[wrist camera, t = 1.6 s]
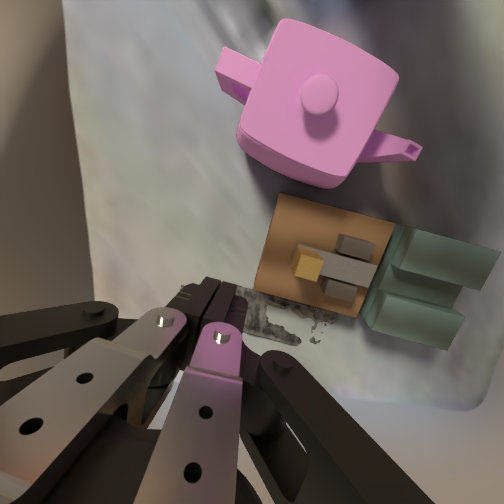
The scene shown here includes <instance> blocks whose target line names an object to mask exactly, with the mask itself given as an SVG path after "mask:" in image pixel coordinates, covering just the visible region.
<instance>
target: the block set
mask: <svg viewBox="0 0 504 504" xmlns="http://www.w3.org/2000/svg"><path fill="white" fill-rule="evenodd" d="M297 241H298V242H302V243H306V244H310V245H313V246H317V247H321V248H324V249H328V250H332V251H335V252H339V253H343V254H346V255H350V256H354V257H358V258H361V259H365V260H369V261H372V262H373V263H374V264H376V265H377V268H376V271H375V273H374V276H373V278H372V280H371V283H370V285H369V288H367V287H364V286H360V285H356V284H353V283H349V282H345V281H342V280H338V279H334V278H330V277H327V276H323V275H319V276H318V279H317V282H316V281H312V280H308V279H305V278H301V277H297V276H294V272H293V268H292V267H291V264H290V261H291V257H292V254H293V251H294V248H295V245H296V242H297ZM500 254H501V252H500V251H497V250H493V249H489V248H486V247H482V246H478V245H474V244H471V243H467V242H463V241H460V240H456V239H452V238H448V237H445V236H441V235H437V234H433V233H430V232H426V231H422V230H419V229H415V228H411V227H407V226H404V225H400V224H396V223H392V222H389V221H385V220H381V219H377V218H374V217H370V216H366V215H362V214H359V213H355V212H351V211H348V210H344V209H340V208H336V207H333V206H329V205H325V204H321V203H318V202H314V201H310V200H306V199H303V198H299V197H295V196H292V195H288V194H284V193H280V192H279V195H278V199H277V202H276V206H275V209H274V213H273V216H272V220H271V224H270V227H269V231H268V234H267V238H266V242H265V245H264V249H263V252H262V256H261V259H260V263H259V267H258V270H257V274H256V277H255V282H254V287H253V290H256V291H260V292H263V293H267V294H271V295H274V296H278V297H282V298H285V299H289V300H293V301H296V302H300V303H304V304H307V305H311V306H314V307H318V308H322V309H325V310H329V311H333V312H336V313H340V314H344V315H347V316H351V317H355V318H357V315H358V313H360V314H361V315H362V317H363V318H364V320H365V321H366V322H367V324H368V325H369V327H370V328H371V329H372V330H373V331H377V332H380V333H384V334H387V335H391V336H395V337H398V338H402V339H406V340H409V341H413V342H417V343H420V344H424V345H427V346H431V347H435V348H438V349H442V350H446V351H447V350H448V348H449V347H450V345H451V343H452V341H453V339H454V337H455V336H456V334H457V332H458V330H459V328H460V327H461V325H462V323H463V321H464V319H465V317H464V316H462V315H461V314H459V313H458V312H456V311H455V310H453V309H452V306H453V304H454V302H455V300H456V298H457V296H458V294H459V292H460V290H461V289H462V287H463V286H465V287H469V288H472V289H476V290H481V288H482V287H483V285H484V283H485V281H486V279H487V277H488V276H489V274H490V272H491V270H492V268H493V267H494V265H495V263H496V261H497V259H498V257H499V256H500Z"/></svg>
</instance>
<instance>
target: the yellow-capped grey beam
mask: <svg viewBox="0 0 504 504" xmlns="http://www.w3.org/2000/svg"><path fill="white" fill-rule="evenodd" d="M290 264H291V267H292V268H293V272H294V276H297V277H301V278H305V279H308V280H312V281H316V282H317V279H318V276H319V275H323V276H327V277H330V278H334V279H338V280H342V281H345V282H349V283H353V284H356V285H360V286H364V287H367V288H369V285H370V283H371V280H372V278H373V276H374V273H375V271H376V268H377V265H376V264H374V263H373V262H372V261H369V260H365V259H361V258H358V257H354V256H350V255H346V254H343V253H339V252H335V251H332V250H328V249H324V248H321V247H317V246H313V245H310V244H306V243H302V242H298V241H297V242H296V245H295V248H294V251H293V254H292V257H291V261H290Z"/></svg>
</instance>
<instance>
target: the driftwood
mask: <svg viewBox="0 0 504 504" xmlns="http://www.w3.org/2000/svg"><path fill="white" fill-rule="evenodd" d="M221 284H222V282H221ZM221 284H220V285H221ZM183 287H184V285H182V286H181V289H182V288H183ZM235 295H238V296H241V297H245V298H246V300H247V302H248V309H247V314H246V318H245V323H244V328H243V331H244V332H246V333H249V334H253V335H257V336H261V337H265V338H269V339H272V340H275V341H280V342H283V343H288V344H291V345H295V346H298V344H300V343H301V339H300V338H299V337H297V336H296V335H295V334H290V333H288V332H287V331H285V330H284V327H283V326H279V325H276V324H275V325H273V324H272V323H269V322H268V317H267V316H266V310H267V306H268V305H267V304H269V305H271V306H274V307H278V308H288V307H292V310H293V311H294V313H296V314H297V315H298V316H299V317H300V318H312V319H313V321H315V324H314V326H313V327H312V330H313V329H314V330H315V329H316V327H317V324H318V322H323V321H325V322H328V323H330V324H331V325H332V323H333V322H335V320H336V319H337V318H338V313H336V312H331V311H327V310H323V309H317V308H316V307H312V306H307V305H303V304H300V303H295V302H292V301H288V300H284V299H280V298H278V297H277V296H274V295H269V294H266V293H261V292H258V291H256V290H252V289H248V288H243V287H241V286H238V285H237V290H236V293H235ZM315 311H316V313H314V312H315ZM325 326H326V324H325ZM312 333H313V332H312ZM322 333H323V332H322ZM320 341H321V340H318V341H315V338H314V337H312V338H310V342H311V343H314V344H317V343H319V342H320Z"/></svg>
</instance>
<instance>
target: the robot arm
mask: <svg viewBox="0 0 504 504" xmlns="http://www.w3.org/2000/svg"><path fill="white" fill-rule="evenodd" d="M220 284H221V280H217V279H213V278H210V277H205V279H204V280H203V281H202V282H201V284H200V285H197V284H194V283H191V284H189V285H186V286H184V287H183V288H182V289H181V290H180V292H178V294H177V295H176V296H175V297H174V298H173V299H172V300H171V301H170V302H169V303H168V304H167V306H166V307H161V308H155V309H152V310H150V311H148V312H147V313H145V314H144V315H143V316H142V317H141V318H139V319H122V318H118V314H119V311H118V308H117V307H116V306H115V305H113V304H111V303H107V302H102V301H90V302H83V303H77V304H71V305H64V306H58V307H52V308H45V309H39V310H33V311H27V312H20V313H14V314H8V315H2V316H0V369H2V368H3V367H4V366H6V365H8V364H10V363H13V362H16V361H19V360H23V359H27V358H31V357H35V356H38V355H42V354H46V353H49V352H53V351H57V350H61V349H64V360H63V361H61V362H60V363H59V364H57V365H56V366H54V367H50V368H47V369H44V370H40V371H37V372H34V373H31V374H27V375H24V376H21V377H17V378H15V379H11V380H7V381H0V504H262V502H261V500H260V498H259V496H258V495H257V493H256V491H255V490H254V488H253V487H252V485H251V484H250V482H249V481H248V480H247V479H246V477H245V476H244V475H243V474H242V473H241V472H240V471H239V470H238V469H237V460H238V445H239V434H240V437H241V439H242V441H243V444H244V445H245V447H246V449H247V451H248V453H249V455H250V457H251V459H252V461H253V463H254V465H255V467H256V468H257V470H258V472H259V474H260V476H261V478H262V480H263V482H264V484H265V486H266V488H267V490H268V491H269V494H270V495H271V497H272V499H273V501H274V503H275V504H435V503H434V502H433V501H432V500H431V499H430V498H429V497H428V496H427V495H426V494H425V493H424V492H423V491H422V490H421V489H420V488H419V487H418V486H417V485H416V484H415V483H414V481H413V480H412V479H411V478H410V477H409V476H408V475H407V474H406V473H405V472H404V471H403V470H402V469H401V468H400V467H399V466H398V465H397V464H396V463H395V462H394V461H393V460H392V459H391V457H390V456H389V455H387V453H386V452H385V451H384V450H383V449H382V448H381V447H380V446H379V445H378V444H377V443H376V442H375V441H374V440H373V439H372V438H371V437H370V436H369V435H368V434H367V433H366V431H365V430H364V429H363V428H362V427H361V426H360V425H359V424H358V423H357V422H356V421H355V420H354V419H353V418H352V417H351V416H350V415H349V414H348V413H347V412H346V411H345V410H344V409H343V408H342V406H341V405H340V404H339V403H338V402H336V400H335V399H334V398H333V397H332V396H331V395H330V394H329V393H328V392H327V391H326V390H325V389H324V388H323V387H322V386H321V385H320V384H319V383H318V382H317V380H316V379H315V378H314V377H313V376H312V375H311V374H310V373H309V372H308V371H307V370H306V369H305V368H304V367H303V366H302V365H301V364H300V363H299V362H298V361H297V360H296V359H295V358H294V357H292V356H291V355H289V354H287V353H285V352H282V351H277V350H271V351H267V352H265V353H264V354H262V356H260V355H258V354H256V353H254V352H253V351H251V350H250V349H249V348H248V347H247V346H246V345H245V344H244V342H243V340H242V333H243V328H244V323H245V318H246V314H247V309H248V302H247V300H246V298H245V297H241V296H238V295H235V293H236V290H237V285H235V284H232V283H228V282H225V281H223V282H222V284H221V285H220ZM179 370H182V371H184V373H183V376H182V378H181V381H180V383H179V386H178V389H177V391H176V394H175V396H174V399H173V402H172V404H171V407H170V409H169V412H168V415H167V417H166V420H165V422H164V425H163V428H162V430H155V429H147V428H148V426H149V424H150V423H151V422H152V420H153V418H154V417H155V415H156V413H157V412H158V410H159V408H160V407H161V405H162V404H163V402H164V400H165V399H166V397H167V395H168V394H169V392H170V390H171V389H172V386H173V383H174V379H175V377H176V376H177V374H178V372H179ZM286 422H287V423H288V425H289V426H290V428H291V429H292V430H293V432H294V433H295V435H296V436H297V437H298V439H299V440H300V442H301V443H302V445H303V446H304V448H305V450H306V452H307V453H306V452H305V451H304V449H303V448H302V447H301V445H300V444H299V442H298V441H297V439H296V438H295V436H294V435H293V434H292V432H291V431H290V429H289V428H288V427H287V425H286Z"/></svg>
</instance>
